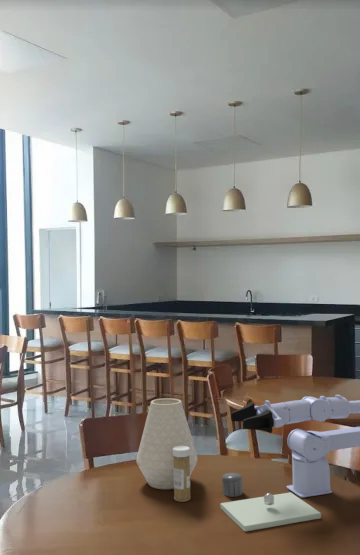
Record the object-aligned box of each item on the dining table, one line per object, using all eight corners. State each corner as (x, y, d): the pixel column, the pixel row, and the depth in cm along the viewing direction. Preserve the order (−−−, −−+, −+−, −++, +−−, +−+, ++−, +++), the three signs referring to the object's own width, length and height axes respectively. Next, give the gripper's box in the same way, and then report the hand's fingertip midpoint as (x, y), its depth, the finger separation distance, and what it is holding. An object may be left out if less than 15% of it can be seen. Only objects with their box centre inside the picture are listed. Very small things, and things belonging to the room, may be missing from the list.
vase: (209, 478, 156) (207, 398, 157) (176, 498, 142) (175, 410, 142) (159, 468, 166) (158, 393, 166) (124, 486, 151) (123, 404, 152)
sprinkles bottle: (194, 499, 141) (193, 448, 141) (179, 504, 138) (178, 451, 139) (184, 494, 145) (183, 444, 145) (170, 498, 142) (169, 447, 142)
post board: (290, 496, 142) (290, 478, 142) (321, 518, 128) (320, 498, 128) (220, 508, 135) (220, 489, 135) (244, 531, 122) (244, 510, 122)
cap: (237, 488, 148) (237, 471, 148) (245, 495, 143) (245, 478, 143) (220, 490, 147) (219, 474, 147) (227, 497, 142) (227, 480, 142)
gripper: (270, 392, 151) (225, 399, 147) (297, 404, 137) (248, 412, 133) (272, 417, 151) (227, 424, 147) (298, 432, 137) (249, 440, 133)
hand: (237, 420), depth 140 cm, fingers open, 7 cm apart
